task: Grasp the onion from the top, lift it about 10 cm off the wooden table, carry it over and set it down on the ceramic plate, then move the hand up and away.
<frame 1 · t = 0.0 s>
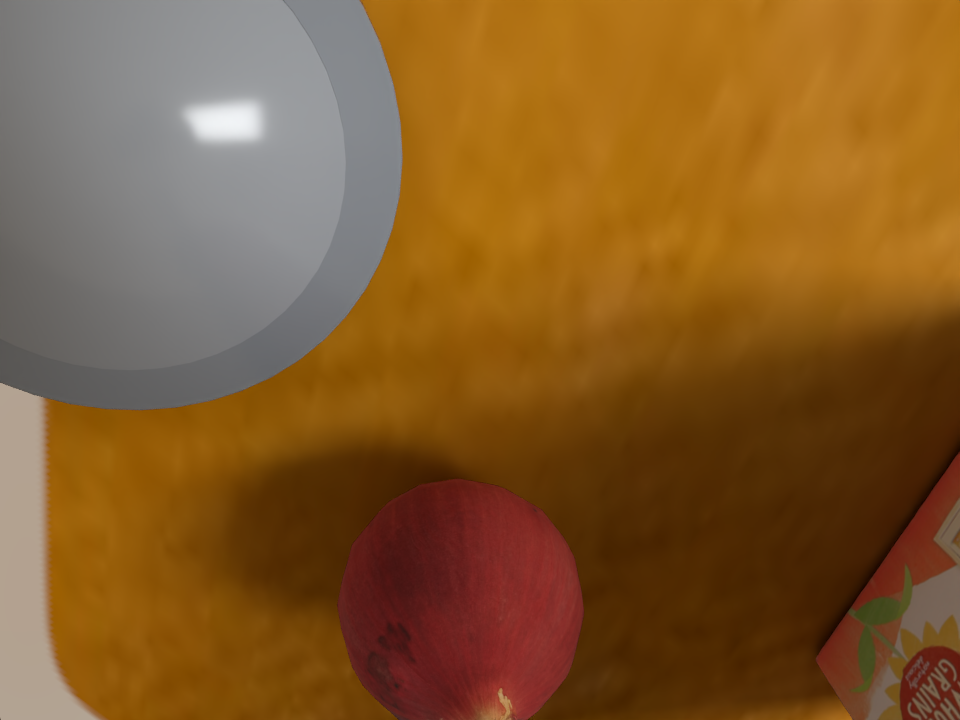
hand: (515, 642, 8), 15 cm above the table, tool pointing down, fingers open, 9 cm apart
onion: (443, 506, 26), on the table
plate: (121, 141, 20), on the table
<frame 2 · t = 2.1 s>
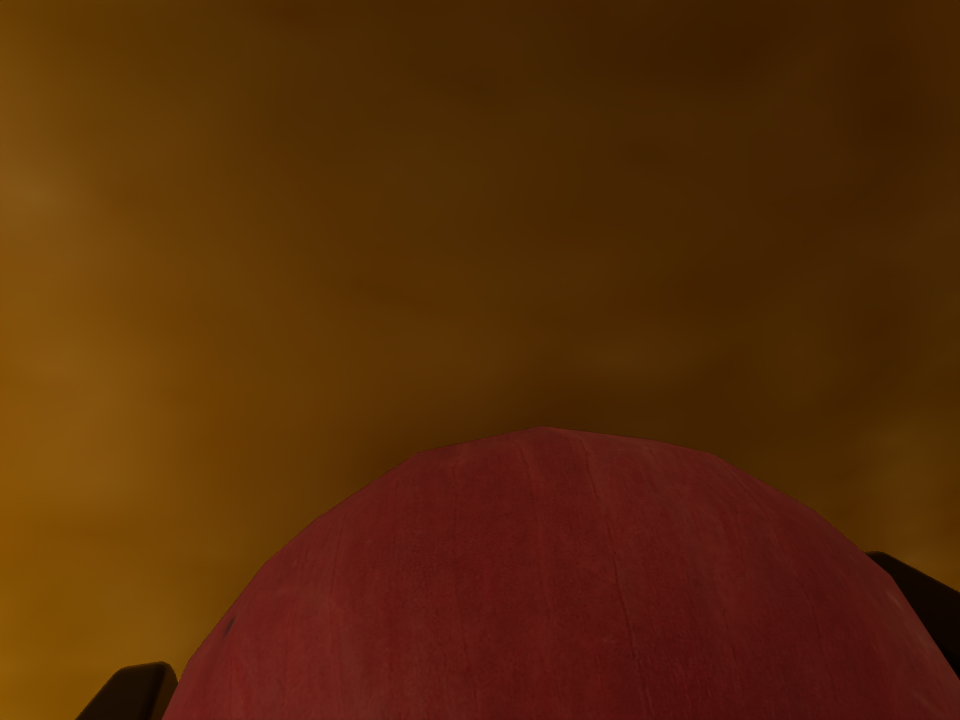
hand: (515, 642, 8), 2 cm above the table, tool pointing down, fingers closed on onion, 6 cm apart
onion: (486, 518, 10), on the table, touching gripper
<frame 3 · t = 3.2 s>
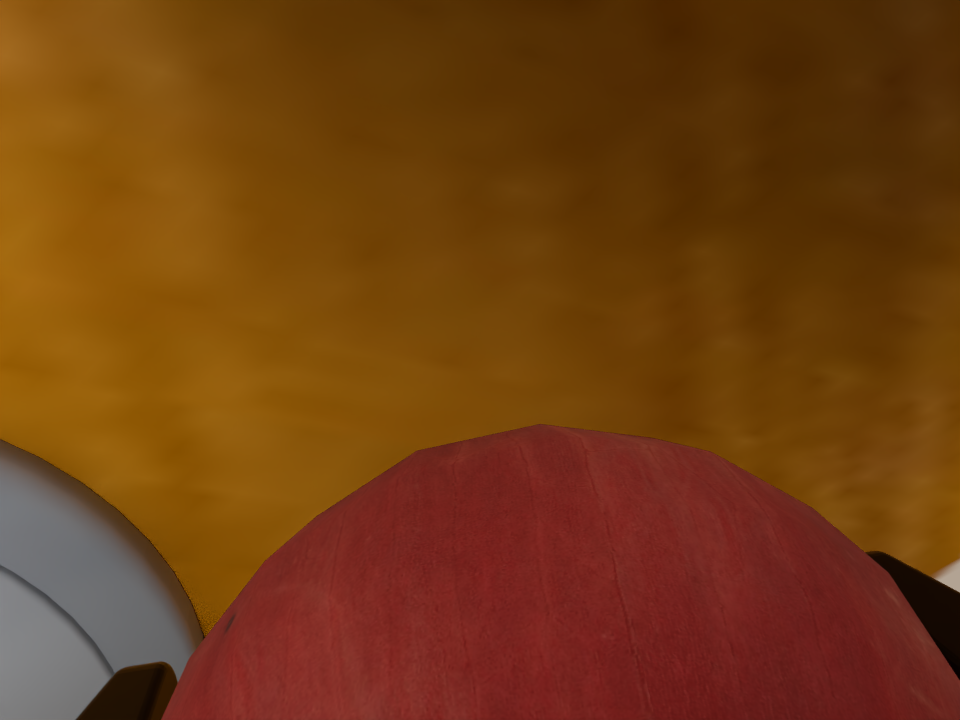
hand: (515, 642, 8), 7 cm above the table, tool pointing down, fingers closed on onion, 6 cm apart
onion: (486, 517, 10), point 6 cm above the table, touching gripper
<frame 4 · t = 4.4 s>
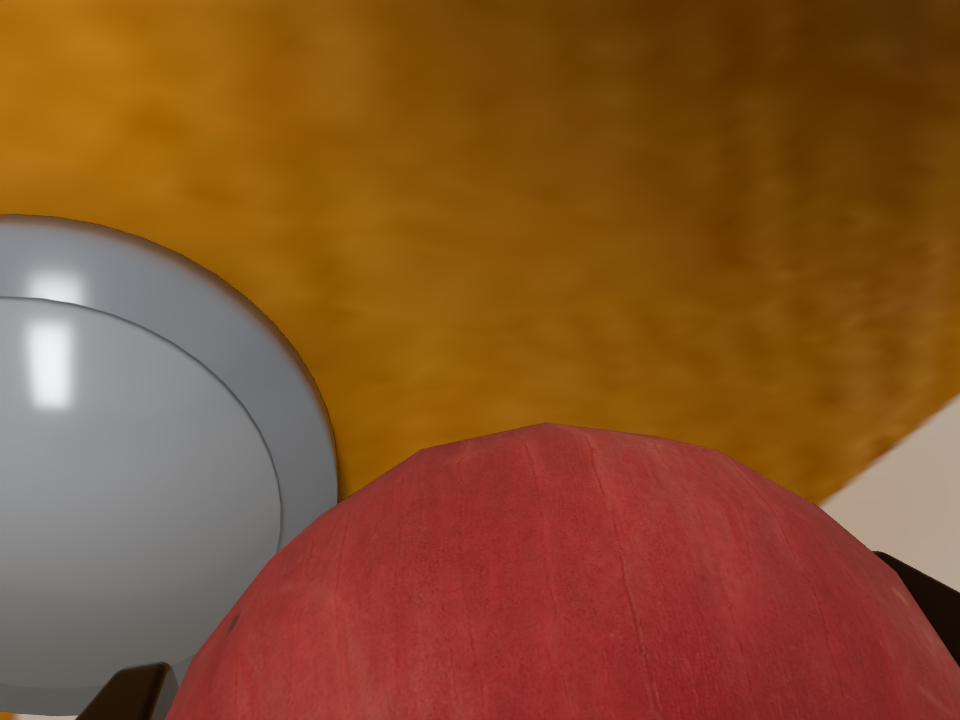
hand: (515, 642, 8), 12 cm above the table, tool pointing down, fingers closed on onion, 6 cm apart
onion: (489, 516, 10), point 10 cm above the table, touching gripper
plate: (62, 476, 20), on the table
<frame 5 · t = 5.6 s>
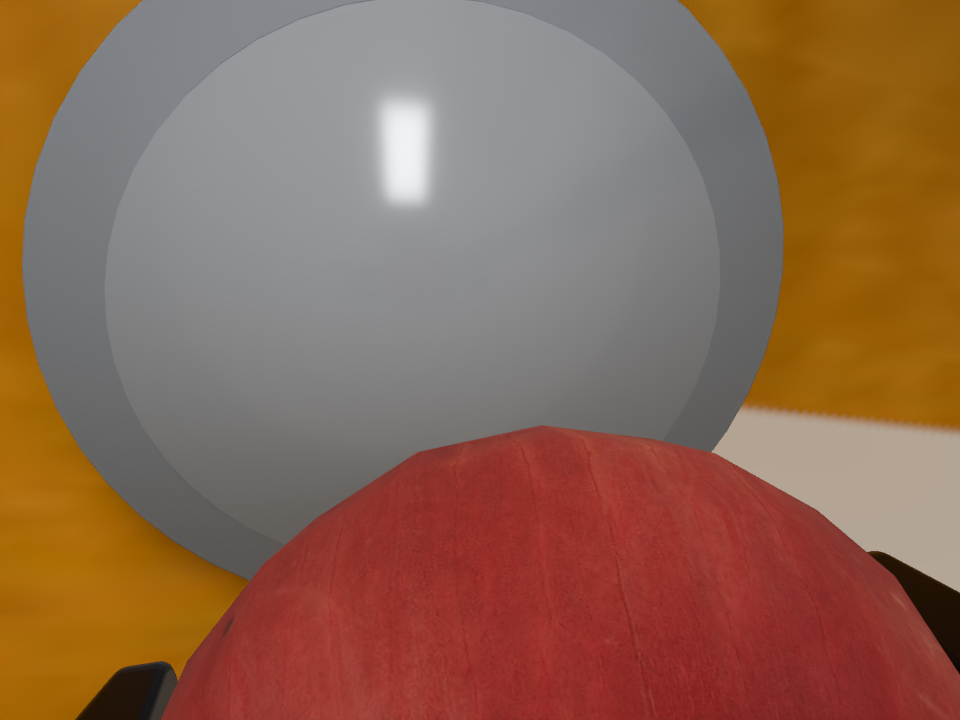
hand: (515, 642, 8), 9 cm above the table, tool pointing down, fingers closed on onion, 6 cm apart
onion: (487, 518, 10), point 7 cm above the table, touching gripper
plate: (418, 287, 16), on the table
when the fingers open (4 cm above the table, at t = 6.7 s): onion drops 1 cm, resting on plate.
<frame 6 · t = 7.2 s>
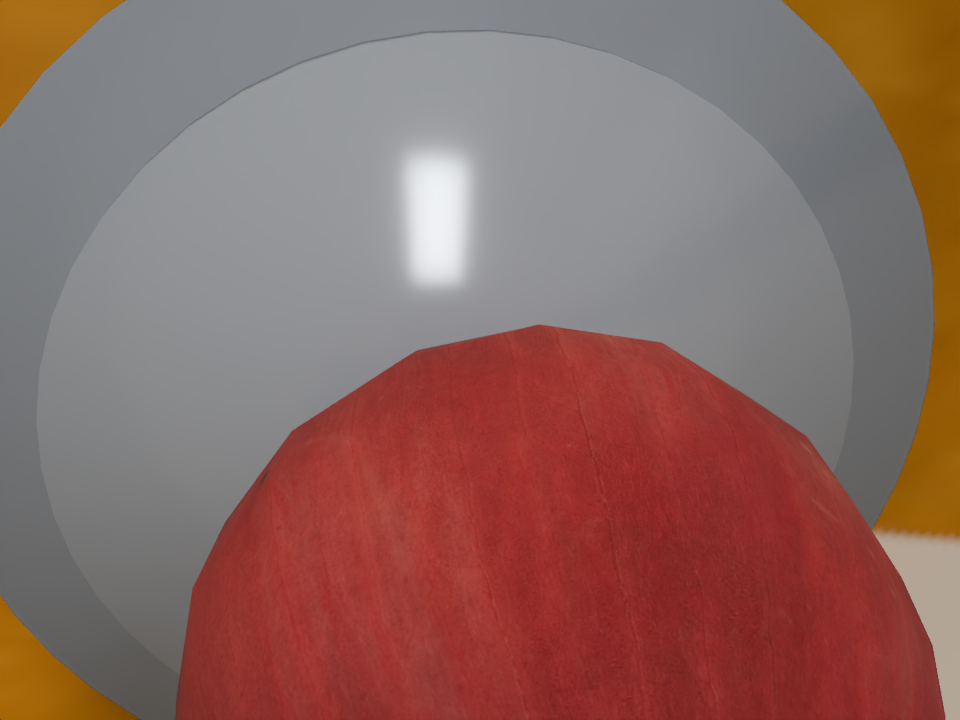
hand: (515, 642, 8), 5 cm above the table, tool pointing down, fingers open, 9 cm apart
onion: (474, 444, 11), point 1 cm above the table, touching plate
plate: (453, 396, 12), on the table
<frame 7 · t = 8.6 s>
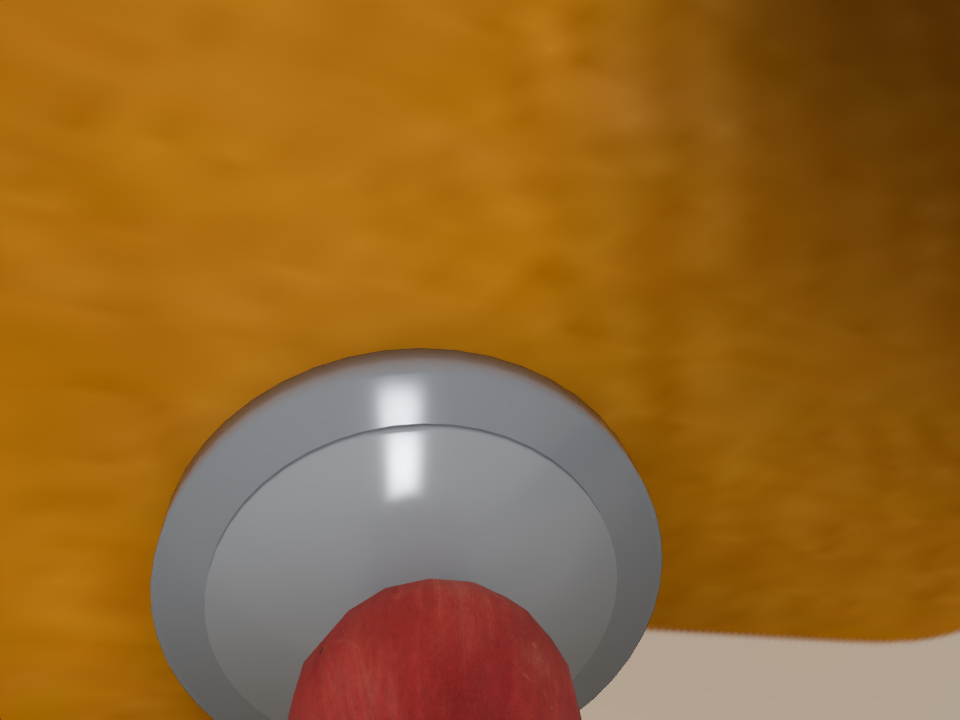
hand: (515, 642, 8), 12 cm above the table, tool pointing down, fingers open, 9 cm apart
onion: (420, 598, 22), point 1 cm above the table, touching plate
plate: (412, 565, 23), on the table
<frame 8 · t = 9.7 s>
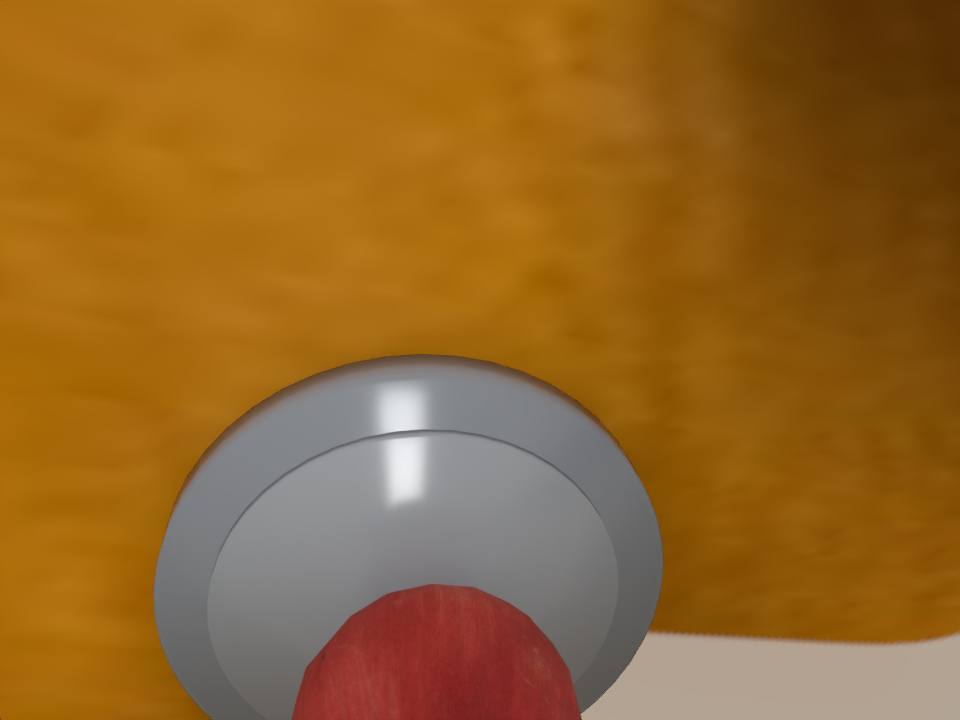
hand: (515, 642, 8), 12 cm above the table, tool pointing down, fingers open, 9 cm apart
onion: (422, 603, 22), point 1 cm above the table, touching plate
plate: (414, 570, 23), on the table
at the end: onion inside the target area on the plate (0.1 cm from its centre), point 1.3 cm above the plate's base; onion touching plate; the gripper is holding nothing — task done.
